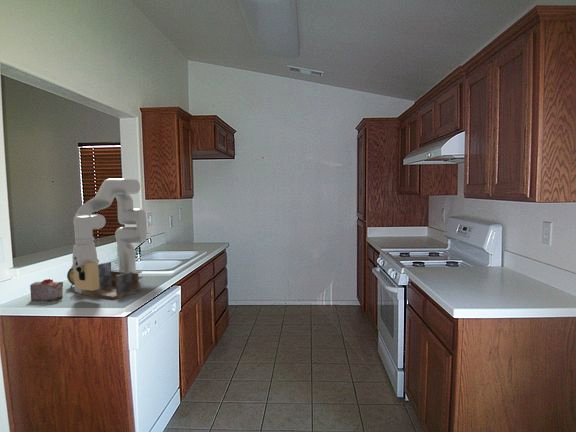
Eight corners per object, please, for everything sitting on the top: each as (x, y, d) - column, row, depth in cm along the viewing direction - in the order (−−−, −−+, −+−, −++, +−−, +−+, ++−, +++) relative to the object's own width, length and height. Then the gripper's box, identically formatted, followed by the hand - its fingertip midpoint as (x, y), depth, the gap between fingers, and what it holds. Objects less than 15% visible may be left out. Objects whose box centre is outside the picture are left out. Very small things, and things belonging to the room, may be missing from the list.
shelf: (109, 287, 201) (108, 261, 200) (138, 291, 192) (138, 264, 191) (82, 294, 187) (81, 266, 186) (113, 299, 178) (112, 270, 177)
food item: (66, 296, 184) (65, 277, 183) (56, 301, 176) (55, 281, 175) (38, 296, 183) (37, 277, 183) (28, 301, 175) (26, 281, 175)
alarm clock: (67, 288, 199) (66, 258, 198) (70, 285, 205) (68, 257, 204) (89, 286, 203) (88, 257, 201) (91, 284, 208) (90, 256, 207)
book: (82, 285, 182) (81, 260, 180) (99, 288, 177) (98, 262, 175) (75, 287, 178) (73, 261, 177) (92, 290, 173) (90, 264, 172)
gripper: (94, 238, 184) (96, 273, 186) (62, 243, 169) (64, 282, 171) (104, 239, 181) (107, 275, 183) (73, 245, 166) (75, 284, 168)
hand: (86, 278), depth 177 cm, fingers closed on book, 4 cm apart
